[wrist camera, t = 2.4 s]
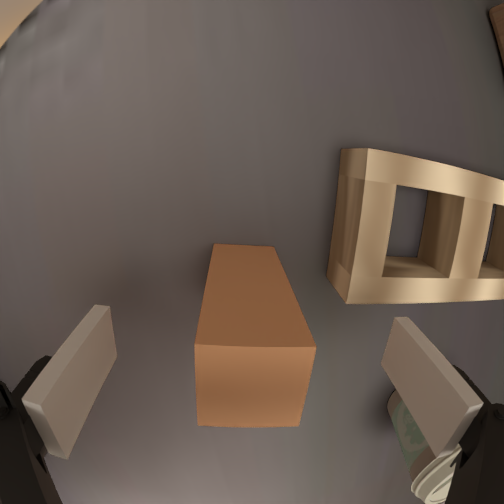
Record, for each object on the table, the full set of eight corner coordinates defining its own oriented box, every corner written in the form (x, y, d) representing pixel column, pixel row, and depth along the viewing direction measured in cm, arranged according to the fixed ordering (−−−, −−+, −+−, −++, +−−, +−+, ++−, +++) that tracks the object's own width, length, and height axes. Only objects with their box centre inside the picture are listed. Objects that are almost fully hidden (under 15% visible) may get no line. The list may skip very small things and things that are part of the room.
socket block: (326, 276, 22) (346, 304, 18) (341, 148, 20) (368, 148, 16) (493, 279, 24) (523, 297, 20) (511, 187, 21) (545, 195, 17)
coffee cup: (445, 348, 26) (514, 426, 14) (444, 400, 28) (494, 471, 17) (369, 387, 26) (420, 486, 15) (379, 434, 29) (417, 517, 17)
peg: (212, 298, 22) (197, 425, 11) (214, 243, 21) (194, 344, 10) (268, 300, 23) (298, 426, 11) (273, 246, 22) (316, 347, 10)
